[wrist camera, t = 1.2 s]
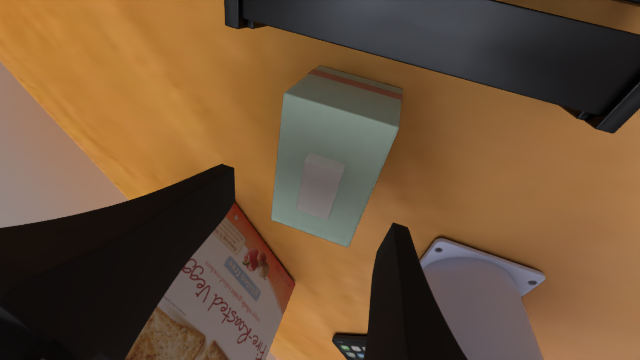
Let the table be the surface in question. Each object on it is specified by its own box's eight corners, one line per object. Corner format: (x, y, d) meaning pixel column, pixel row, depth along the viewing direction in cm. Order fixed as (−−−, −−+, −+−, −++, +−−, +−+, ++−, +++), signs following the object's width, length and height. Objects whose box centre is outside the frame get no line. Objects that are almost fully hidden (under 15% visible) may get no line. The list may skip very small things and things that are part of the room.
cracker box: (299, 282, 29) (158, 649, 13) (260, 283, 32) (102, 586, 15) (228, 185, 23) (-210, 639, 7) (187, 197, 26) (-194, 540, 10)
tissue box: (362, 192, 19) (346, 258, 14) (300, 172, 20) (264, 228, 15) (403, 88, 14) (399, 135, 10) (319, 64, 15) (275, 97, 10)
